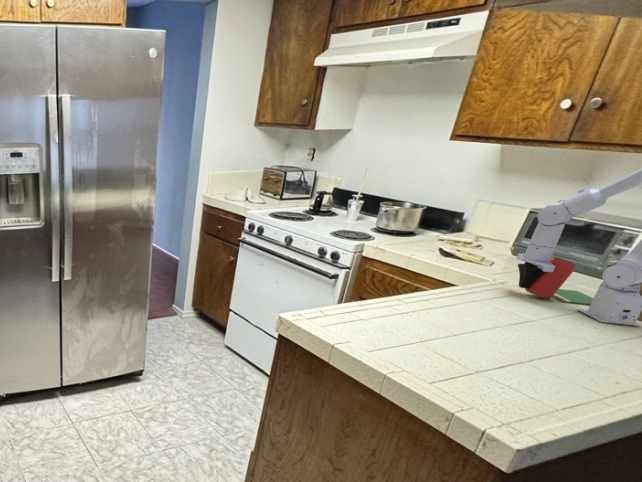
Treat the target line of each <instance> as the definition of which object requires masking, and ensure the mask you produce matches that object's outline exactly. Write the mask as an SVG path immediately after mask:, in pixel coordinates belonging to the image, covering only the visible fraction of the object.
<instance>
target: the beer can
mask: <svg viewBox="0 0 642 482" xmlns="http://www.w3.org/2000/svg"><path fill="white" fill-rule="evenodd" d="M549 261H550V262H551V263H552V264H553V265H554V266H555V268H554V270H553V272H546V273H544V274H543V275H541V276H540V277H539V278H538V279H537V280H536V281H535V282H534V283H533V284H532V286H531V287H530V288H529V289H528V288H524V290H525V291H526V292H527V293H530V294H531V295H535V296H537V297H539V298H541V299H546V300H548V299H551V298H553V297H552V296H553V295H554V294H555V293H556V291H557V290H558V289H561V287H562V286H563V284H564V283H566V281H567V280H568V278H569V277H570V276H571V275H572V274H573V273H574V271H575V269H576V265H577V263H576V262H573V261H570V260H568V259H564V258H562V257H558V256H555V255H552V256H551V258H550V260H549Z"/></svg>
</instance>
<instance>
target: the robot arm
mask: <svg viewBox="0 0 642 482" xmlns="http://www.w3.org/2000/svg"><path fill="white" fill-rule="evenodd" d="M641 185H642V167H641V168H639V169H638V170H634V171H633V172H631V173H628V174H627V175H625V176H623V177H620V178H619V179H616V180H615V181H612V182H610V183H609V184H607V185H604V186H603V187H601V188H597V187H590V188H587V189H586V188H582V189H580V190H578V191H577V194H574V195H572V196H569V197H567V198H565V199H560V200H557V201H556V203H557V204H548V205H545V207H543V208H541V210H539V212H538V213H537V220H538V222H537V225H536V227H535V229H534V232H533V234H532V236H531V239H530V241H529V244H528V246H527V248H526V251H525V253H523V252H522V253H521V252H518V253H517V256H516V260H518V261H521V262H524V263H518V264H517V267H518V273H519V279H518V287H519V288H521V289H525V288H528V289H529V288H530V287H531V286H532V284H533V283H534V282H535V281H536V280H537V279H538V278H539V277H540V276H541V275H543V274H544V273H546V272H553V270H554V268H555V266H554V265H553V264H552V263H551V262H550V261H549V260H550V259H551V258H552V257H553V254H554V251H555V249H556V247H557V244H558V242H559V240H560V238H561V236H562V233H563V230H564V228H565V225H566V224H567V223H569V222H571V221H572V219H573V218H576V217H580V216H582V215H584V214H587V213H590V212H592V211H593V210H595V209H598V208H600V207H603V206H604V205H605V204H606V203H607V201H608V199H610V198H611V197H614V196H616V195H618V194H619V195H620V194H622V193H625V192H626V191H629V190H631V189H633V188H636V187H638V186H641ZM601 279H602V281H601V282H600V284H599V286H598V288H597V290H596V292H595V295H594V297H593V298H594V299H593V301H592V303H591V305H589V307H588V309H584V308H578V311H579V312H580V313H582V314H585V315H586V316H588V317H591V318H593V319H594V320H596V321H598V322H600V323H607V324H617V325H625V326H635V327H638V326H639V324H638V323H637V320H638V318H639V317H640V315H641V313H642V295H641V294H640V291H641V290H642V288H641V285H640V284H642V238H641V239H640V240H639V242H637V244H636V245H635V246H634V247H633V248H632V249H631V251H629V252H628V253H627V254H626V255H624V256H623V257H622V258H620V259H619V261H618V262H617V263H615V264H614V265H612V266H609V267H607V268H606V269H605V270H604V271H603V272H602V274H601Z"/></svg>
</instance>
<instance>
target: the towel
mask: <svg viewBox="0 0 642 482" xmlns="http://www.w3.org/2000/svg"><path fill="white" fill-rule="evenodd" d="M551 298H553V299H556V300H557V301H559V302H561V303H564V304H573V305H574V304H575V305H583V306H590V305H591V303H592V301H593V299H594V297H592V296H589V295H587V294H586V293H583V292H581V291H579V290H573V289H561V288H559V289H558V290H557V291H556V293H555V294H554V295H553V296H552V297H551Z"/></svg>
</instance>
